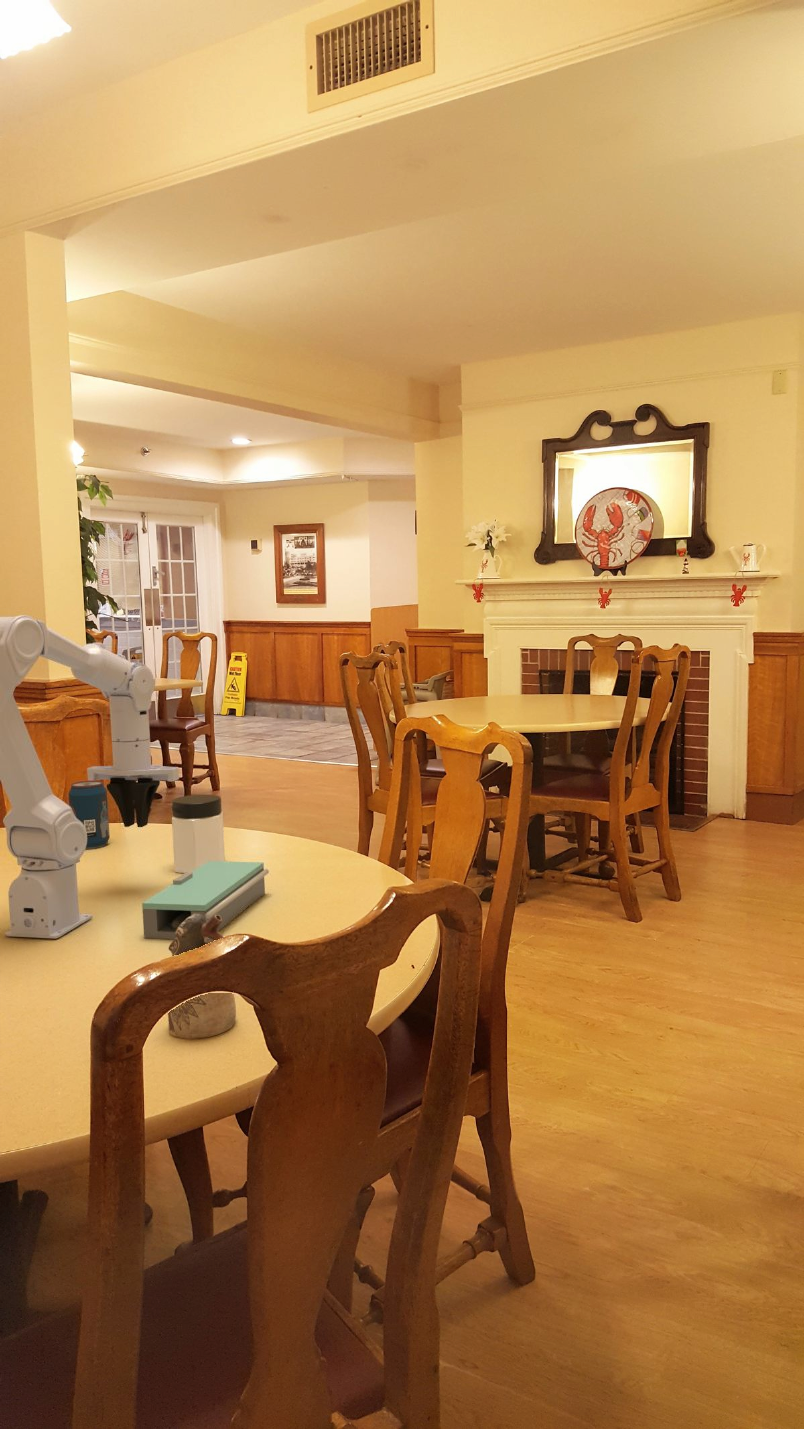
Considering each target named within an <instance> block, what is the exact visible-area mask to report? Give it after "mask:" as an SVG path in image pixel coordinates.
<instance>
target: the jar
mask: <svg viewBox="0 0 804 1429" xmlns="http://www.w3.org/2000/svg"><path fill="white" fill-rule="evenodd" d="M171 804H172V806H171V810H172V818H171V828H172V829H171V830H172V849H173V864H174V867H173V868H174V872H175V873H178V874H184V873H191V872H192V871H194V870H196V869H197V868H199V867H200V866H202V865H204V864H205V863H207V862H208V861H222V862H226V855H225V854H226V853H225V836H224V835H225V834H224V831H225V830H224V812H223V810H222V798H221V796H220V795H215V794H191V795H184V796H179V797H176V798H174V799H173V800H172V803H171Z"/></svg>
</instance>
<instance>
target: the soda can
mask: <svg viewBox="0 0 804 1429" xmlns="http://www.w3.org/2000/svg"><path fill="white" fill-rule="evenodd" d="M70 786H71V787H70V788H69V791H68V806H70V807H71V808H72V811H73V813H74V815H75V817H76V818H77V819H78V820H79V821H81V822H82V823H83V825H84V826H85V829H86V832H87V845H86V848H85V850H93V849H100V848H103V847H106V846H107V844H108V842H109V839H111V838H110V836H111V835H110V823H109V821H110V820H109V806H108V805H109V803H108V790H107V788H106V787H105V786H104V781H102V780H82V781H76V782H72V783H71V785H70Z"/></svg>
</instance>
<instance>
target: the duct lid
mask: <svg viewBox="0 0 804 1429" xmlns="http://www.w3.org/2000/svg"><path fill="white" fill-rule="evenodd" d="M264 863H265V862H262V861H261V862H259V861H256V862H255V861H225V862H222V861H208V862H207V863H205V864H204V865H202V866H200V867H199V868H197V869H196V870H194V871H192V872H191V873H181V875H179V876H178V877H176V878H175V879H173V880H172V883H171V885H169V886H167V887H165V888H163V890H161V891H159V892H157V893H156V894H155V895H152V896H151V897H149V898H148V899H146V900H145V901H143V902H141V908H142V909H159V910H187V911H206V910H207V909H209V908H210V907H211V906H213V905H214V904H215V903H217V902H218V901H219V900H221V899H222V898H223V897H225V896H226V895H227V894H229V893H230V892H231V891H233V890H234V889H236V888H237V887H238V886H240V885H241V884H242V883H244V882H245V881H246V880H248V879H249V878H250V877H252V876H253V875H254V874H256V873H257V872H258V871H260V870H261V869H263V868H265V865H264Z"/></svg>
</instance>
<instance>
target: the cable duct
mask: <svg viewBox="0 0 804 1429" xmlns="http://www.w3.org/2000/svg"><path fill="white" fill-rule="evenodd" d="M264 868H265V867H264ZM264 868H263V869H261V870H260V871H258V872H257V873H256V874H254V875H253V876H252V877H250V878H249V879H248V880H246V881H245V882H244V883H242V884H241V885H240V886H238V887H237V888H236V889H234V890H233V891H231V892H230V893H229V894H227V895H226V896H225V897H223V898H222V899H221V900H219V901H218V902H217V903H215V904H214V905H213V906H211V907H210V908H209V909H207V910H206V911H187V910H159V909H142V922H143V923H142V924H143V938H144V939H154V940H155V939H158V940H159V939H160V940H173V941H174V939H175V932H176V930H177V928H178V927H179V926H180V925H181V924H182V922H183V921H185V920H186V919H187V918H188V917H190V916H192V915H194V914H201V915H202V916H203V917H204V918H205V920H206V923H208V922H209V920H210V919H211V918H212V917H213V916H215V915H219V916H220V917H221V919H222V922H221V924H220V925H219V927H218V928H217V931H218V932H220V931H221V930H222V929H224V928H225V927H226V926H227V925H228V924H230V923H231V922H232V921H233V920H234V919H236V918H237V917H238V916H239V915H240V914H242V913H243V912H244V911H246V910H247V909H248V908H249V907H251V904H252V905H253V904H254V903H255V902H257V901H258V900H259V899H260V898H262V896H264V895H265V894H266V890H265V888H266V886H265V884H266V883H265V876H267V875H268V874H269V873H270V870H269V869H268V868H265V869H264ZM248 906H249V907H248ZM247 907H248V908H247ZM246 908H247V909H246ZM243 910H244V911H243ZM241 912H242V913H241ZM238 914H239V915H238ZM236 916H237V917H236ZM235 917H236V918H235ZM231 920H232V921H231ZM230 921H231V922H230ZM224 926H225V927H224Z"/></svg>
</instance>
